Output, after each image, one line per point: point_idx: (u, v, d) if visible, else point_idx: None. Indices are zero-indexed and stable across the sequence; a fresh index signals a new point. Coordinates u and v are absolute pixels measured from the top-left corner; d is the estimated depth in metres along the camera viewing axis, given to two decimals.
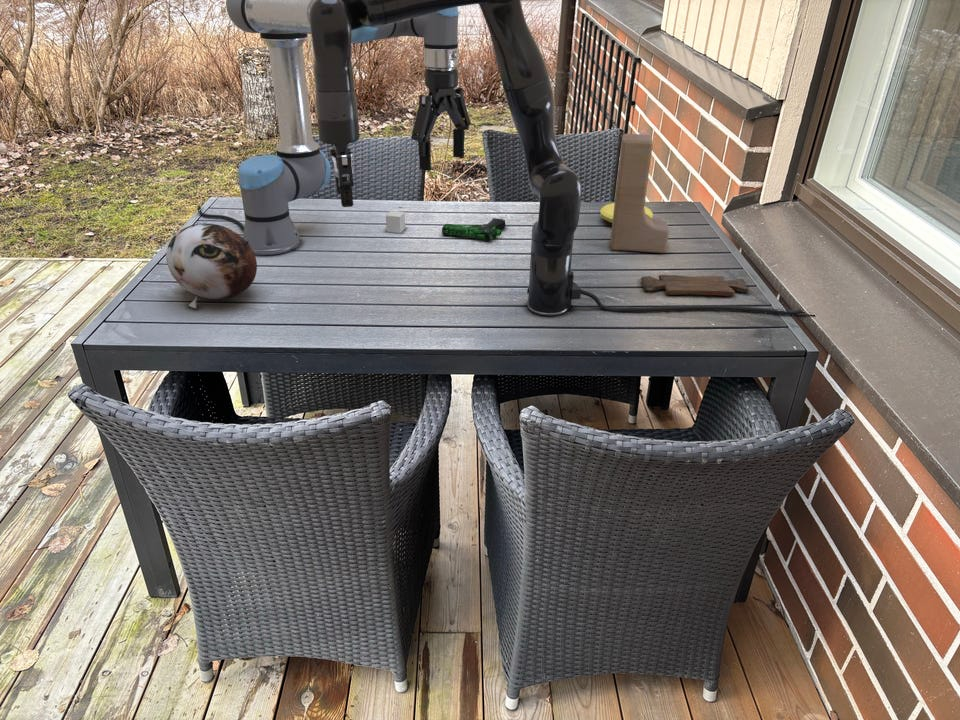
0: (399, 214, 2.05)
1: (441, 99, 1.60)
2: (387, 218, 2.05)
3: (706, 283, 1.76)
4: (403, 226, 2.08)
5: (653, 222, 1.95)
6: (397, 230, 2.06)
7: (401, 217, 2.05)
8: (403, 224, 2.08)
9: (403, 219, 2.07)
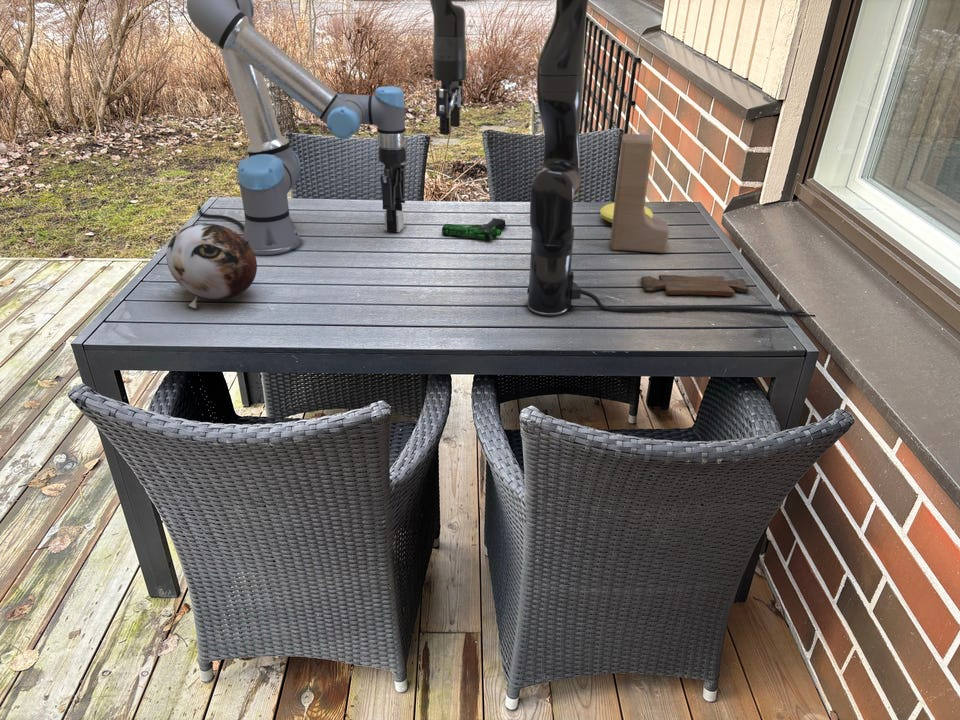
0: (398, 213, 2.05)
1: (394, 173, 1.98)
2: (386, 217, 2.05)
3: (706, 283, 1.76)
4: (401, 225, 2.08)
5: (653, 222, 1.95)
6: None
7: (400, 216, 2.05)
8: (401, 223, 2.08)
9: (401, 218, 2.07)
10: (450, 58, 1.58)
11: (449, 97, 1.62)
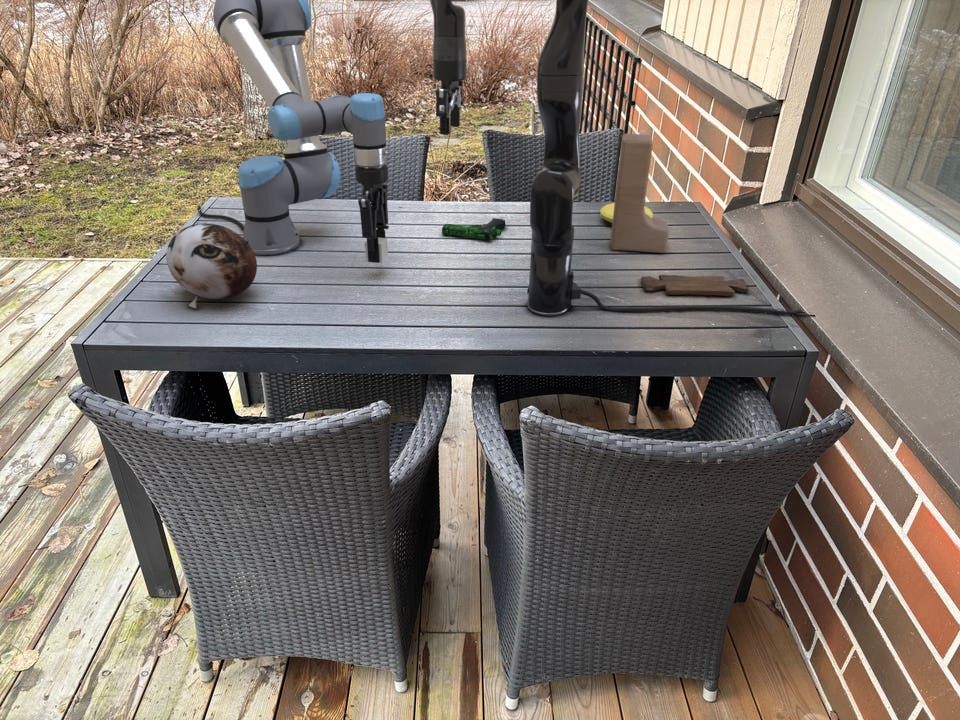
0: (381, 241, 1.76)
1: (375, 195, 1.68)
2: (366, 246, 1.75)
3: (706, 283, 1.76)
4: (385, 254, 1.78)
5: (653, 222, 1.95)
6: None
7: (383, 244, 1.75)
8: (385, 252, 1.78)
9: (385, 246, 1.77)
10: (450, 58, 1.58)
11: (449, 97, 1.62)
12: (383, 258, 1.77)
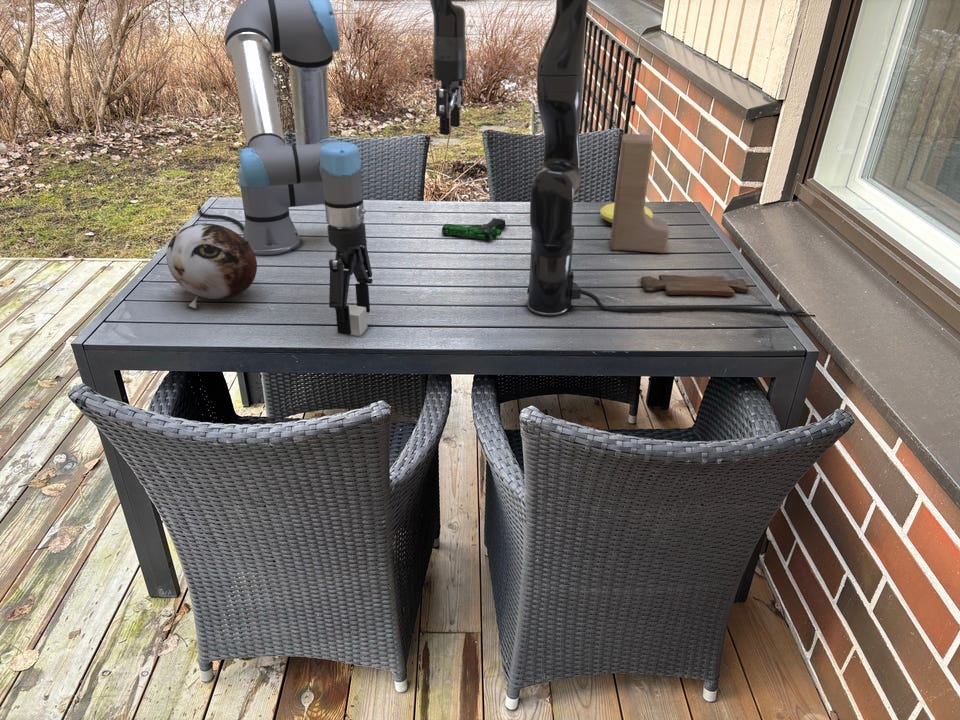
0: (358, 311, 1.52)
1: (350, 257, 1.44)
2: None
3: (706, 283, 1.76)
4: (364, 326, 1.55)
5: (653, 222, 1.95)
6: (355, 332, 1.53)
7: (361, 315, 1.52)
8: (364, 323, 1.55)
9: (363, 317, 1.54)
10: (450, 58, 1.58)
11: (449, 97, 1.62)
12: (361, 330, 1.54)
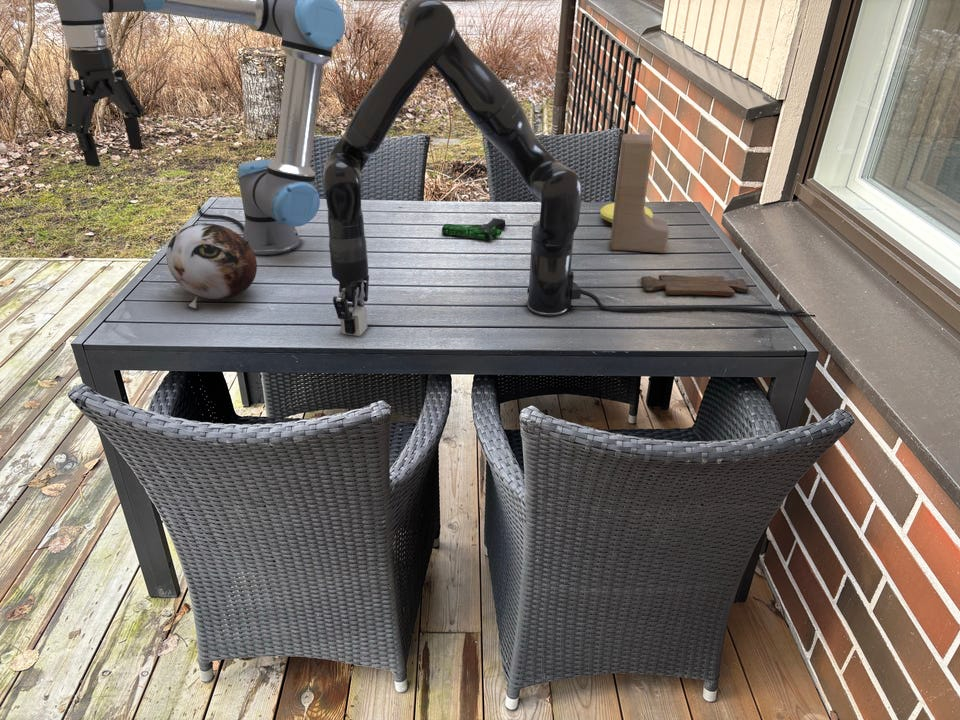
0: (358, 311, 1.52)
1: (96, 83, 1.41)
2: None
3: (706, 283, 1.76)
4: (364, 326, 1.55)
5: (653, 222, 1.95)
6: (355, 332, 1.53)
7: (361, 315, 1.52)
8: (364, 323, 1.55)
9: (363, 317, 1.54)
10: (347, 260, 1.43)
11: (349, 297, 1.48)
12: (361, 330, 1.54)
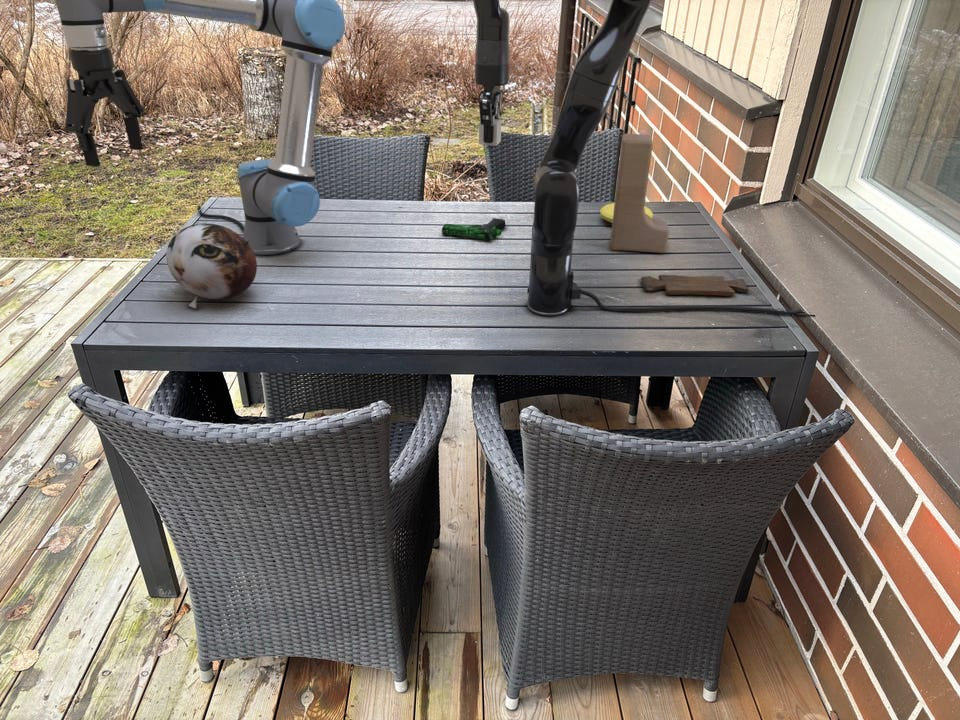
0: (496, 121, 1.63)
1: (96, 83, 1.41)
2: (480, 126, 1.63)
3: (706, 283, 1.76)
4: (499, 138, 1.65)
5: (653, 222, 1.95)
6: (492, 142, 1.64)
7: (498, 125, 1.63)
8: (499, 135, 1.65)
9: (499, 128, 1.64)
10: (494, 62, 1.54)
11: (491, 102, 1.58)
12: (497, 141, 1.64)
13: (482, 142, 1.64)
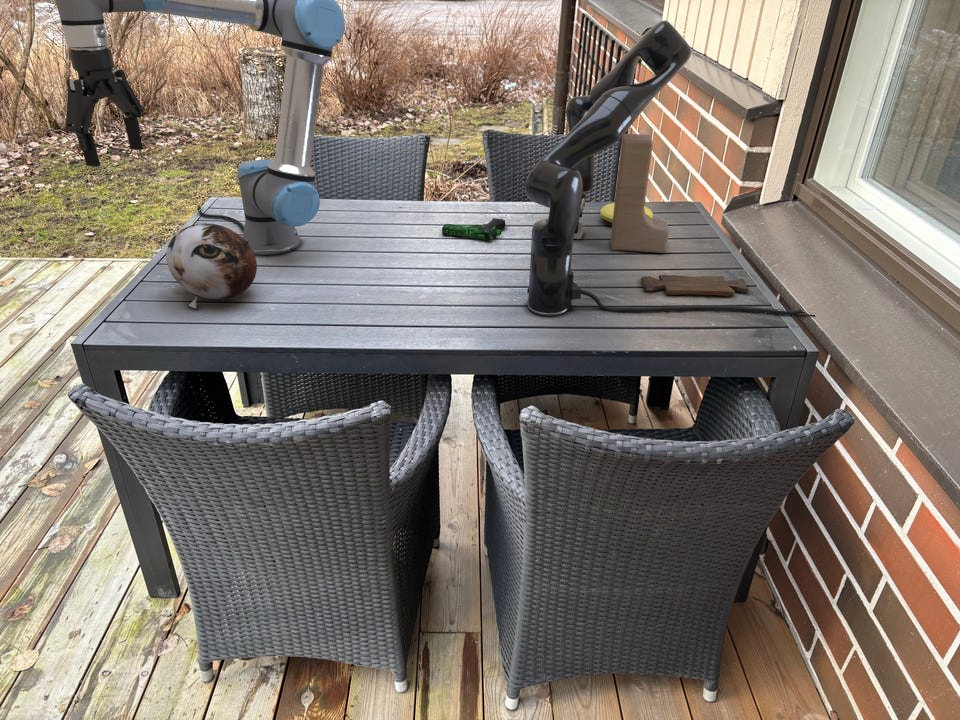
0: (580, 220, 2.03)
1: (96, 83, 1.41)
2: None
3: (706, 283, 1.76)
4: (582, 232, 2.06)
5: (653, 222, 1.95)
6: (577, 236, 2.04)
7: (582, 223, 2.03)
8: (582, 230, 2.06)
9: (582, 225, 2.05)
10: (583, 174, 1.94)
11: None
12: (581, 235, 2.05)
13: None
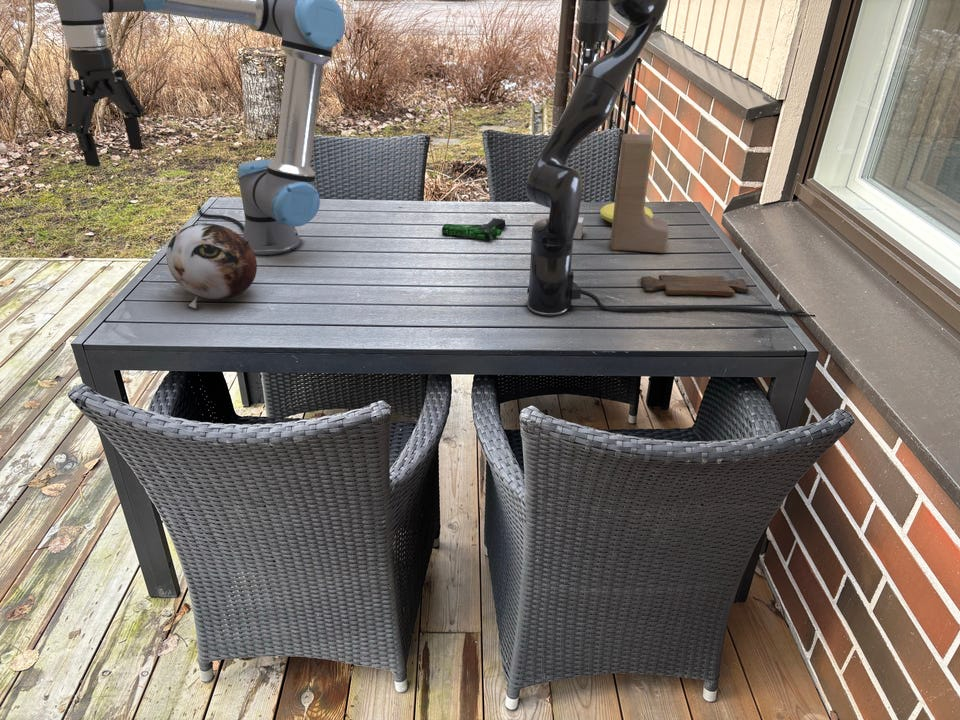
0: (580, 220, 2.03)
1: (96, 83, 1.41)
2: None
3: (706, 283, 1.76)
4: (582, 232, 2.06)
5: (653, 222, 1.95)
6: (577, 236, 2.04)
7: (582, 223, 2.03)
8: (582, 230, 2.06)
9: (582, 225, 2.05)
10: (597, 20, 1.74)
11: None
12: (581, 235, 2.05)
13: None
